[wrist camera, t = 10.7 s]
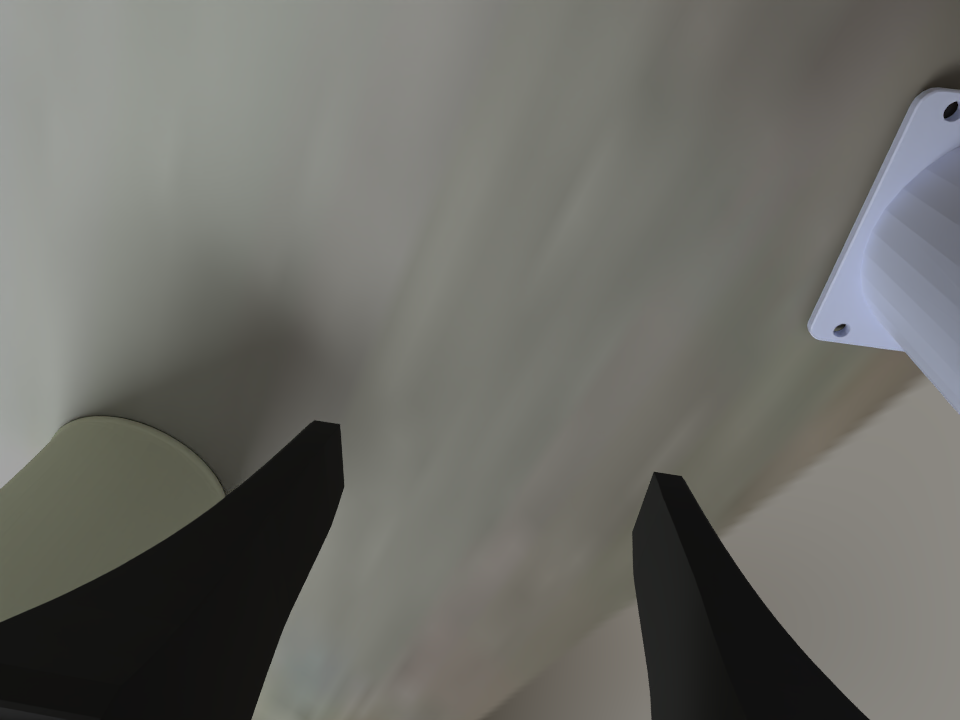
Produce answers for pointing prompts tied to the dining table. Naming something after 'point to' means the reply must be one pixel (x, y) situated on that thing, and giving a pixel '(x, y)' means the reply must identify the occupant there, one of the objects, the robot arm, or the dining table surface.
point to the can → (94, 506)
